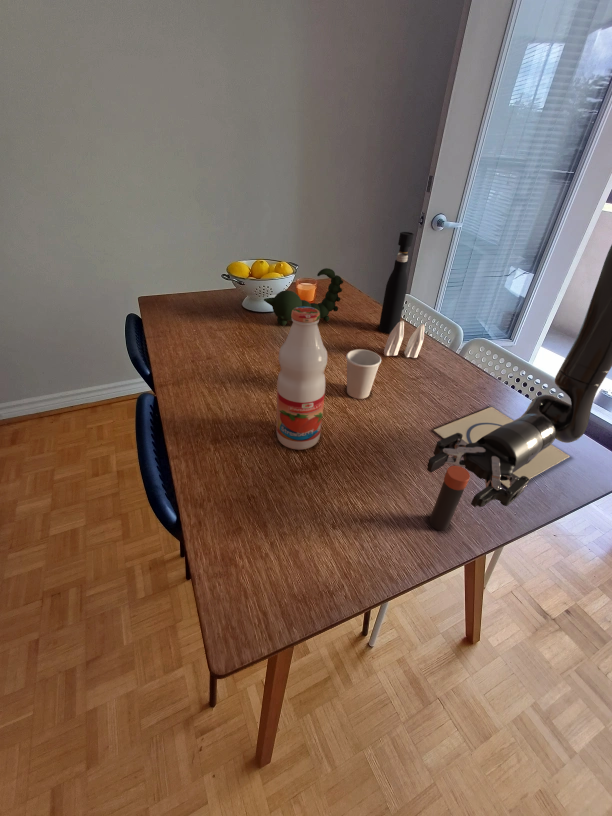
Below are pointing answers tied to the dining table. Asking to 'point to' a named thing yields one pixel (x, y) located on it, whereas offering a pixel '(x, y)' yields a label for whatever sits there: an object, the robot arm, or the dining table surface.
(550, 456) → the paper
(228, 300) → the dining table surface
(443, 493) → the marker
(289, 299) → the toy figurine
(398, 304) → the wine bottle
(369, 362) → the dixie cup
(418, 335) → the shaker set
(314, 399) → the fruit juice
